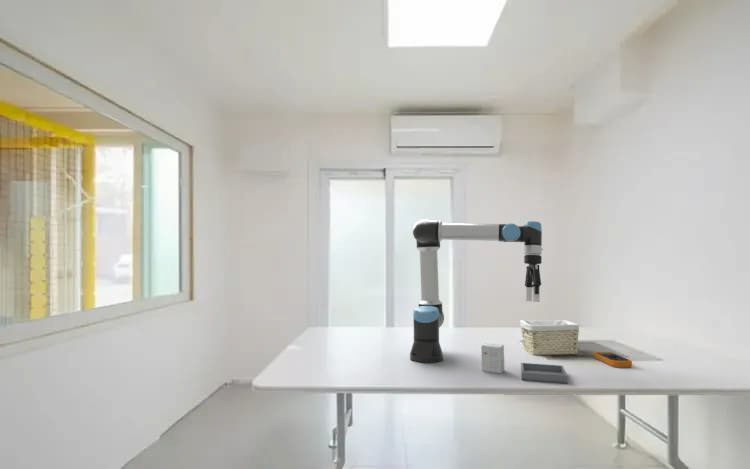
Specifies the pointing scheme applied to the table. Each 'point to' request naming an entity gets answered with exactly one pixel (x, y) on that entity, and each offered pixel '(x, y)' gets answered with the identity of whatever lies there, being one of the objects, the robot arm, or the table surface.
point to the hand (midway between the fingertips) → (532, 301)
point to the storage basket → (550, 337)
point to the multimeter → (613, 359)
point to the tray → (543, 373)
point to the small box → (492, 358)
